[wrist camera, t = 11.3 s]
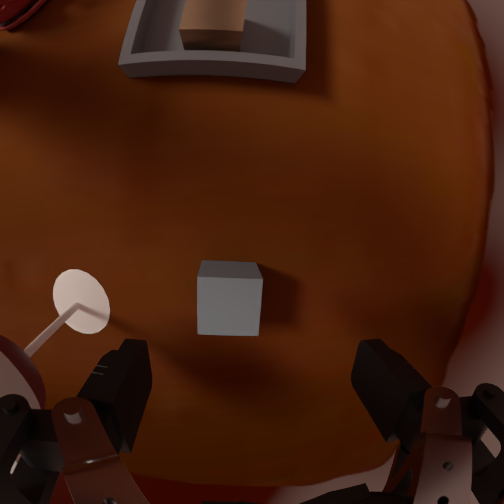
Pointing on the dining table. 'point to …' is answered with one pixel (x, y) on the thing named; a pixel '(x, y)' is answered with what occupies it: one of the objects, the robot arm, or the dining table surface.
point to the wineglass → (72, 313)
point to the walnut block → (213, 25)
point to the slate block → (229, 298)
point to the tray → (217, 62)
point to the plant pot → (17, 11)
